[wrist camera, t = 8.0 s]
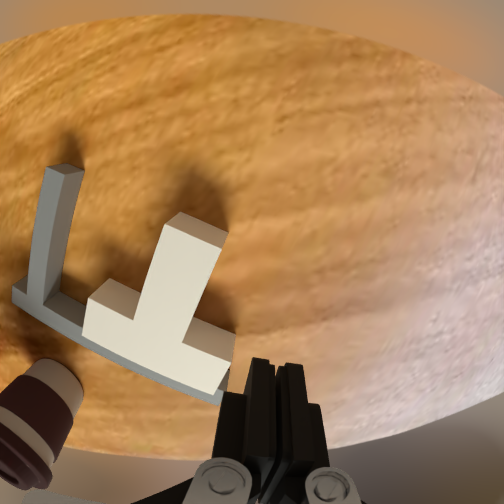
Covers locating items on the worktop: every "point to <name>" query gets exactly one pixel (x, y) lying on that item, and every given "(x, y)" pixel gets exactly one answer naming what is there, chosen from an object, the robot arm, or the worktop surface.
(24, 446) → the coffee cup
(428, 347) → the worktop surface
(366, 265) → the worktop surface
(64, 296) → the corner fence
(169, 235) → the t block
